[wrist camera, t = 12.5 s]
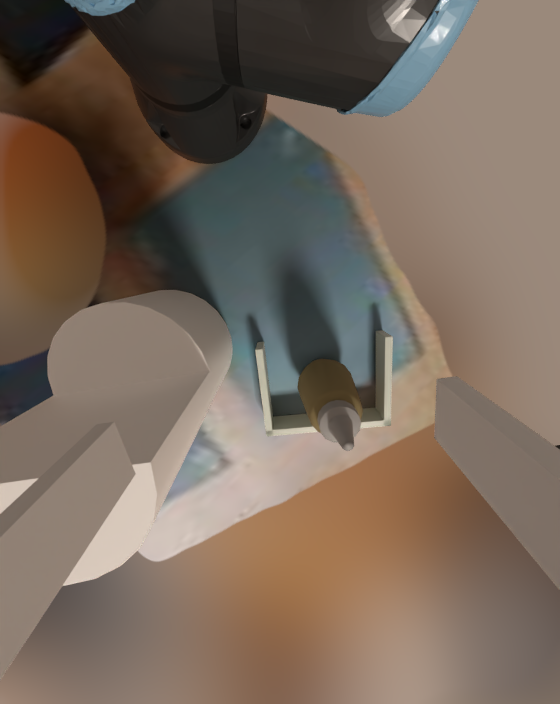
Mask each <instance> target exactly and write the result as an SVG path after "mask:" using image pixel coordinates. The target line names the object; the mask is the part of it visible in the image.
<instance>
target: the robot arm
mask: <svg viewBox="0 0 560 704" xmlns="http://www.w3.org/2000/svg"><path fill="white" fill-rule="evenodd" d="M65 1H66V2H67V3H68V4H69V5H70V6H71V7H72V8H73V10H74V11H75V12H76V13H77V14H78V16H79V17H80V18H81V19H82V20H83V22H84V23H85V24H86V25H87V27H88V28H89V29H90V30H91V31H92V33H93V34H94V35H95V36H96V37H97V39H98V40H99V41H100V42H101V43H102V45H103V46H104V47H105V48H106V49H107V51H108V52H109V53H110V54H111V55H112V57H113V58H114V59H115V60H116V61H117V63H118V64H119V65H120V66H121V67H122V69H123V70H124V71H125V72H126V73H127V75H128V76H129V77H130V80H131V83H132V87H133V90H134V94H135V97H136V100H137V103H138V105H139V108H140V110H141V112H142V114H143V116H144V118H145V119H146V121H147V123H148V124H149V126H150V127H151V129H152V130H153V131H154V132H155V134H156V135H157V136H158V137H159V138H160V139H161V140H162V141H163V142H164V143H165V144H166V145H167V146H168V147H169V148H170V149H171V150H173V151H174V152H175V153H177V154H178V155H180V156H182V157H183V158H186V159H188V160H191V161H194V162H198V163H204V164H213V163H220V162H224V161H226V160H229V159H231V158H233V157H235V156H236V155H238V154H239V153H241V152H242V151H243V150H244V149H245V148H246V147H247V146H248V145H249V144H250V143H251V142H252V140H253V139H254V137H255V136H256V134H257V132H258V130H259V128H260V126H261V124H262V121H263V118H264V114H265V110H266V103H267V94H271V95H276V96H281V97H285V98H289V99H294V100H298V101H303V102H308V103H312V104H317V105H321V106H326V107H331V108H335V109H337V112H339V113H341V114H344V115H345V114H352V113H359V114H366V115H372V116H378V117H383V116H388V115H390V114H392V113H395V112H396V111H399V110H401V109H403V108H404V107H405V106H406V105H408V104H409V103H410V102H411V101H412V100H413V99H414V98H415V97H416V96H417V95H418V94H419V93H420V92H421V90H422V89H423V88H424V87H425V86H426V84H427V83H428V82H429V81H430V79H431V78H432V77H433V75H434V73H435V72H436V71H437V69H438V68H439V67H440V65H441V64H442V62H443V61H444V59H445V58H446V56H447V55H448V53H449V51H450V50H451V48H452V46H453V45H454V43H455V42H456V40H457V38H458V37H459V35H460V33H461V31H462V30H463V28H464V26H465V24H466V23H467V21H468V19H469V17H470V15H471V14H472V12H473V10H474V7H475V6H476V4H477V2H478V0H65ZM435 439H436V440H437V441H438V443H439V444H440V445H441V446H442V448H443V449H444V450H445V451H446V452H447V454H448V455H449V456H450V457H451V458H452V460H453V461H454V462H455V463H456V465H457V466H458V467H459V468H460V470H461V471H462V472H463V473H464V474H465V476H466V477H467V478H468V479H469V480H470V482H471V483H472V484H473V485H474V487H475V488H476V489H477V490H478V491H479V493H480V494H481V495H482V496H483V498H484V499H485V500H486V501H487V502H488V503H489V505H490V506H491V507H492V508H493V510H494V511H495V512H496V513H497V514H498V516H499V517H500V518H501V519H502V520H503V522H504V523H505V524H506V526H507V527H508V528H509V529H510V530H511V532H512V533H513V534H514V535H515V536H516V538H517V539H518V540H519V541H520V543H521V544H522V545H523V546H524V547H525V549H526V550H527V551H528V552H529V554H530V555H531V556H532V557H533V558H534V560H535V561H536V562H537V563H538V565H539V566H540V567H541V568H542V569H543V570H544V572H545V573H546V574H547V575H548V577H549V578H550V579H551V580H552V582H553V583H554V584H555V585H556V586H557V587H558V589H559V590H560V445H557V446H554V445H552V444H551V443H550V442H548V441H547V440H546V439H544V438H543V437H541V436H540V435H539V434H537V433H536V432H534V431H533V430H532V429H530V428H529V427H527V426H526V425H524V424H523V423H522V422H520V421H519V420H518V419H516V418H515V417H513V416H512V415H511V414H509V413H508V412H506V411H505V410H503V409H502V408H500V407H499V406H498V405H496V404H495V403H494V402H492V401H491V400H489V399H488V398H487V397H485V396H484V395H482V394H481V393H480V392H478V391H477V390H475V389H474V388H473V387H471V386H469V385H468V384H467V383H466V382H464V381H463V380H461V379H460V378H459V377H457V376H456V377H448V378H441V379H437V386H436V411H435ZM135 474H136V473H135V471H134V469H133V466H132V464H131V461H130V459H129V456H128V454H127V452H126V449H125V447H124V444H123V442H122V439H121V437H120V434H119V432H118V430H117V427H116V425H115V422H109V423H101V424H96V425H95V426H94V427H93V428H92V429H91V430H90V431H89V432H88V433H87V434H86V435H84V436H83V437H82V438H81V439H80V440H79V441H78V442H77V443H76V444H75V445H74V446H73V447H72V448H71V449H69V450H68V451H67V452H66V453H65V454H64V455H63V456H62V457H61V458H60V459H59V460H58V461H57V462H56V463H54V464H53V465H52V466H51V467H50V468H49V469H48V470H47V471H46V472H45V473H44V474H43V475H42V476H41V477H39V478H38V479H37V480H36V481H35V482H34V483H33V484H32V485H31V486H30V487H29V488H28V489H27V490H26V491H24V492H23V493H22V494H21V495H20V496H19V497H18V498H17V499H16V500H15V501H14V502H13V503H12V504H11V505H9V506H8V507H7V508H6V509H5V510H4V511H3V512H2V513H1V514H0V680H1V678H2V677H3V675H4V674H5V672H6V671H7V669H8V668H9V666H10V665H11V663H12V662H13V660H14V659H15V657H16V655H17V654H18V653H19V651H20V649H21V648H22V646H23V645H24V643H25V642H26V640H27V639H28V637H29V636H30V634H31V633H32V631H33V630H34V628H35V627H36V625H37V624H38V622H39V620H40V619H41V618H42V616H43V614H44V613H45V611H46V610H47V608H48V607H49V605H50V604H51V602H52V601H53V599H54V597H55V596H56V595H57V593H58V592H59V590H60V589H61V587H62V586H63V584H64V582H65V581H66V579H67V578H68V576H69V575H70V573H71V572H72V570H73V569H74V567H75V566H76V564H77V563H78V561H79V560H80V558H81V557H82V555H83V554H84V552H85V550H86V549H87V547H88V546H89V544H90V543H91V541H92V540H93V538H94V537H95V535H96V534H97V532H98V531H99V529H100V528H101V526H102V525H103V523H104V522H105V520H106V518H107V517H108V515H109V514H110V512H111V511H112V509H113V508H114V506H115V505H116V503H117V502H118V500H119V499H120V497H121V496H122V494H123V493H124V491H125V490H126V488H127V486H128V485H129V483H130V482H131V480H132V479H133V477H134V476H135Z"/></svg>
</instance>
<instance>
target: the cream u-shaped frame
mask: <svg viewBox="0 0 560 704" xmlns="http://www.w3.org/2000/svg"><path fill="white" fill-rule="evenodd" d="M392 345H393V337H392V336H391V335H389V334H388V333H386V332H384V331H383V330H379V331H376V407H375V408H364V409H363V413H362V418H361V426H360V428H369V427H380V426H391V390H392ZM255 352H256V359H257V367H258V374H259V382H260V389H261V397H262V405H263V412H264V420H265V427H266V435H267V436H277V435H288V434H300V433H311V432H318V431H317V430H316V429H315V428H314V427H313V426H312V425H311V423H310V420H309V418H308V415H307V414H296V415H285V416H274V417H273V412H272V404H271V396H270V388H269V379H268V371H267V363H266V354H265V346H264V342H257V346H256V349H255Z"/></svg>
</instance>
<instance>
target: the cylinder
mask: <svg viewBox="0 0 560 704" xmlns="http://www.w3.org/2000/svg"><path fill="white" fill-rule="evenodd" d="M232 353H233V351H232V340H231V336H230V333H229V330H228V327H227V325H226V323H225V322H224V320H223V319H222V317H221V316H220V314H219V313H218V311H217V310H215V309H214V308H213V307H212V306H211V305H210V304H209V303H207V302H206V301H205V300H203V299H201V298H199V297H197V296H195V295H193V294H191V293H188V292H183V291H179V290H159V291H154V292H150V293H145V294H141V295H136V296H132V297H127V298H123V299H118V300H113V301H109V302H104V303H101V304H98V305H94V306H91V307H88V308H85V309H82V310H80V311H79V312H78V313H76V314H75V315H73V316H72V317H71V318H69V319H68V320H66V321H65V322H64V323H63V325H62V326H61V328H60V329H59V330H58V332H57V333H56V334H55V336H54V337H53V340H52V343H51V347H50V350H49V353H48V378H49V382H50V385H51V388H52V392H53V395H54V396H52V397H50V398H49V399H47V400H45V401H44V402H42V403H40V404H38V405H37V406H35V407H33V408H32V409H30V410H28V411H26V412H25V413H23V414H21V415H20V416H18V417H16V418H14V419H13V420H11V421H9V422H7V423H6V424H4V425H2V426H1V427H0V514H1V513H2V512H3V511H4V510H5V509H6V508H7V507H8V506H9V505H11V504H12V503H13V502H14V501H15V500H16V499H17V498H18V497H19V496H20V495H21V494H22V493H23V492H24V491H26V490H27V489H28V488H29V487H30V486H31V485H32V484H33V483H34V482H35V481H36V480H37V479H38V478H39V477H41V476H42V475H43V474H44V473H45V472H46V471H47V470H48V469H49V468H50V467H51V466H52V465H53V464H54V463H56V462H57V461H58V460H59V459H60V458H61V457H62V456H63V455H64V454H65V453H66V452H67V451H68V450H69V449H71V448H72V447H73V446H74V445H75V444H76V443H77V442H78V441H79V440H80V439H81V438H82V437H83V436H84V435H86V434H87V433H88V432H89V431H90V430H91V429H92V428H93V427H94V426H95V425H96V424H101V423H109V422H115V425H116V427H117V430H118V432H119V434H120V437H121V439H122V442H123V444H124V447H125V449H126V452H127V454H128V456H129V459H130V461H131V464H132V466H133V469H134V471H135V473H136V474H135V476H134V477H133V479H132V480H131V482H130V483H129V485H128V486H127V488H126V490H125V491H124V493H123V494H122V496H121V497H120V499H119V500H118V502H117V503H116V505H115V506H114V508H113V509H112V511H111V512H110V514H109V515H108V517H107V518H106V520H105V522H104V523H103V525H102V526H101V528H100V529H99V531H98V532H97V534H96V535H95V537H94V538H93V540H92V541H91V543H90V544H89V546H88V547H87V549H86V550H85V552H84V554H83V555H82V557H81V558H80V560H79V561H78V563H77V564H76V566H75V567H74V569H73V570H72V572H71V573H70V575H69V576H68V578H67V579H66V581H65V582H64V584H63V586H65V585H69V584H74V583H78V582H83V581H87V580H91V579H96V578H97V577H100V576H101V575H103V574H105V573H107V572H109V571H111V570H113V569H115V568H117V567H119V566H121V565H122V564H123V563H124V562H125V561H127V559H129V558H130V557H131V556H132V555H133V554H134V553H135V552H136V551H137V550H138V549H139V548H140V547H141V546H142V544H143V542H144V540H145V538H146V536H147V534H148V532H149V530H150V528H151V527H152V525H153V523H154V521H155V519H156V517H157V514H158V512H159V510H160V508H161V506H162V504H163V502H164V500H165V498H166V496H167V494H168V492H169V490H170V488H171V486H172V484H173V482H174V480H175V477H176V475H177V473H178V471H179V469H180V467H181V465H182V463H183V461H184V459H185V457H186V455H187V453H188V451H189V449H190V447H191V445H192V443H193V441H194V438H195V436H196V434H197V432H198V430H199V428H200V426H201V424H202V422H203V420H204V418H205V416H206V414H207V412H208V410H209V408H210V406H211V404H212V402H213V399H214V397H215V395H216V393H217V391H218V389H219V387H220V385H221V383H222V381H223V379H224V377H225V375H226V373H227V371H228V369H229V367H230V363H231V358H232Z"/></svg>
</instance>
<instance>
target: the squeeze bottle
mask: <svg viewBox="0 0 560 704" xmlns="http://www.w3.org/2000/svg"><path fill="white" fill-rule="evenodd" d="M298 391H299V394H300V397H301V400H302V402H303V405H304V407H305V410H306V412H307V415H308V418H309V420H310V423H311V425H312V426H313V427H314V428H315V429H316V430H317V431H318V432H320V433H321V434H322V435H323V436H324V437H325V438H326V439H327V440H329V441H332V442H338V443H339V444H340V446H341V447H342V448H343V449H344V450H346V451H350V450H352V449H353V447H354V437H355V436H356V435H357V433H358V432H359V430H360V426H361V418H362V413H363V409H362V404H361V401H360V398H359V395H358V392H357V390H356V387H355V384H354V381H353V379H352V376H351V373H350V372H349V371H348V369H347V368H346V367H345V366H344V365H343V364H341V363H339V362H337V361H335V360H329V359H318V360H314V361H312V362H311V363H310V364H308V365H307V366H306V367H305V368H304V370H303V372H302V373H301V375H300V377H299V381H298Z"/></svg>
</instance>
